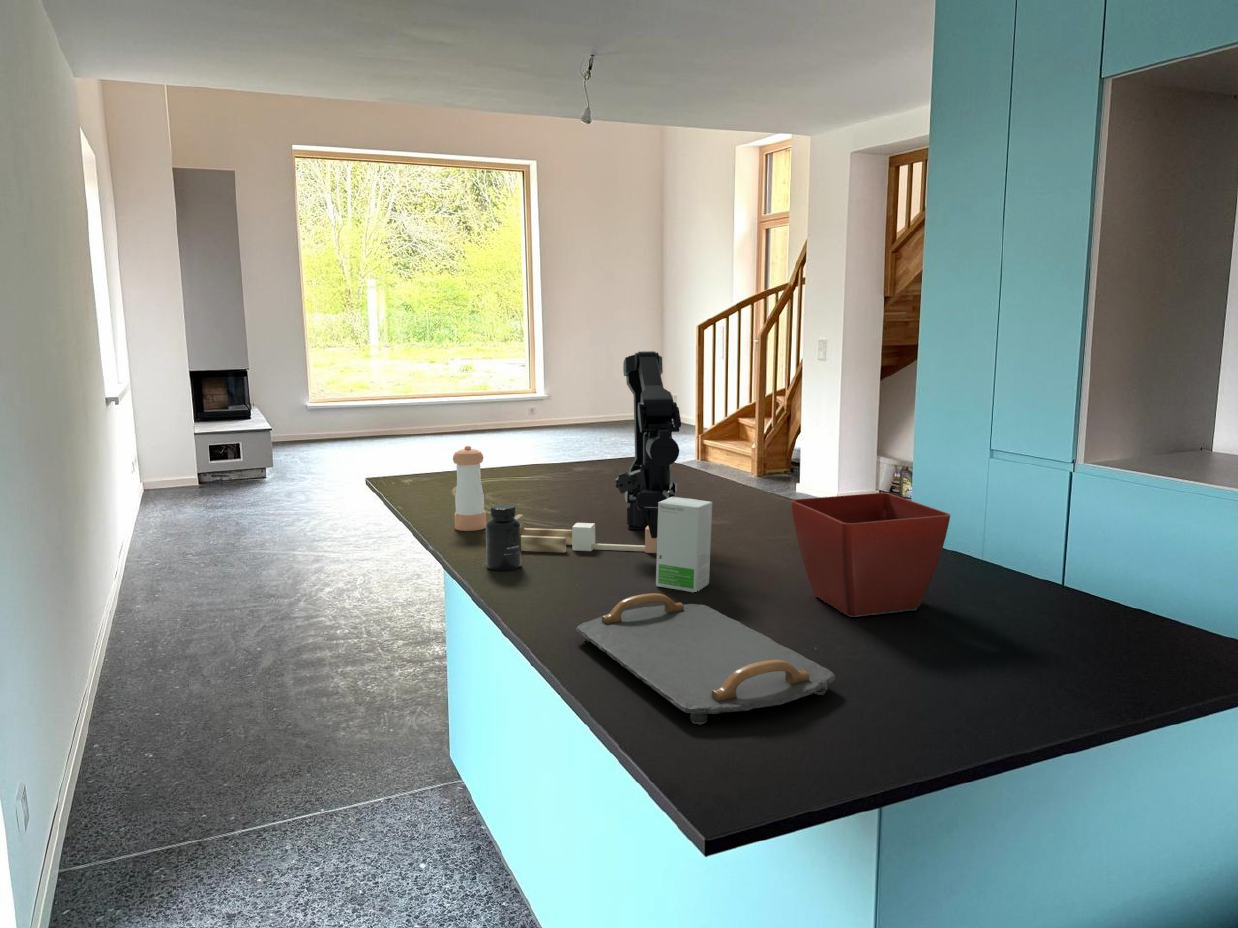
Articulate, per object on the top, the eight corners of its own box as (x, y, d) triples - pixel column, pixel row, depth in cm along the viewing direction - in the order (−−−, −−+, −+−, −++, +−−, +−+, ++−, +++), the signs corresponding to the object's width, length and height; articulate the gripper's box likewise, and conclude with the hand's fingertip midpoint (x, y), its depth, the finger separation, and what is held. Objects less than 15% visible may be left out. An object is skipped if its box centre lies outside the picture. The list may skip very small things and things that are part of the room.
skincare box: (655, 587, 159) (654, 502, 156) (670, 577, 164) (670, 495, 162) (698, 593, 155) (698, 506, 152) (712, 583, 161) (713, 499, 158)
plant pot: (841, 628, 137) (845, 522, 134) (786, 592, 155) (788, 498, 152) (948, 616, 142) (953, 514, 139) (882, 583, 160) (886, 492, 157)
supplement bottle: (515, 572, 169) (513, 510, 167) (481, 570, 170) (479, 509, 168) (526, 562, 175) (524, 503, 174) (493, 561, 177) (491, 502, 175)
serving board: (565, 637, 135) (564, 598, 134) (694, 614, 145) (694, 578, 144) (698, 744, 101) (698, 692, 100) (855, 703, 111) (857, 656, 110)
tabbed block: (661, 548, 185) (661, 525, 184) (659, 553, 181) (659, 530, 181) (576, 545, 189) (576, 522, 188) (572, 550, 185) (572, 527, 184)
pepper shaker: (469, 532, 201) (466, 449, 198) (448, 528, 205) (444, 446, 202) (492, 526, 207) (490, 445, 204) (471, 522, 211) (468, 443, 208)
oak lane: (573, 543, 191) (572, 516, 190) (564, 552, 183) (564, 524, 182) (518, 541, 193) (518, 514, 192) (508, 550, 185) (507, 522, 184)
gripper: (626, 450, 191) (626, 521, 193) (609, 464, 173) (610, 542, 175) (677, 451, 189) (677, 523, 191) (666, 465, 171) (666, 544, 173)
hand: (657, 532), depth 183 cm, fingers open, 9 cm apart
